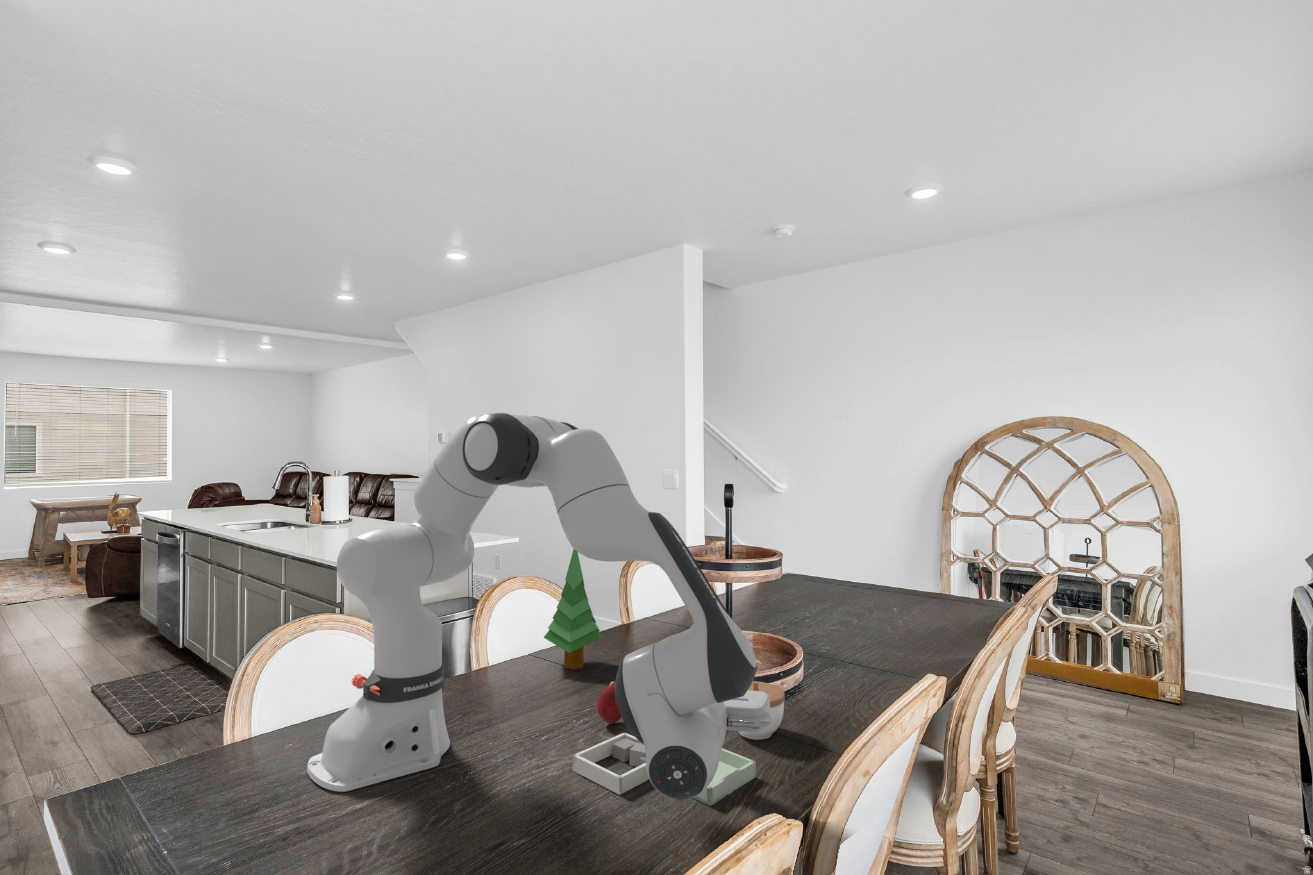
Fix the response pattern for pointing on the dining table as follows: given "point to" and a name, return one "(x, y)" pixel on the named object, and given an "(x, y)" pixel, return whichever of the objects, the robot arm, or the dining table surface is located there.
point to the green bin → (728, 777)
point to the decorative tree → (573, 618)
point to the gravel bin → (621, 749)
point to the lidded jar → (775, 710)
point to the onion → (608, 705)
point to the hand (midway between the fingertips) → (707, 686)
